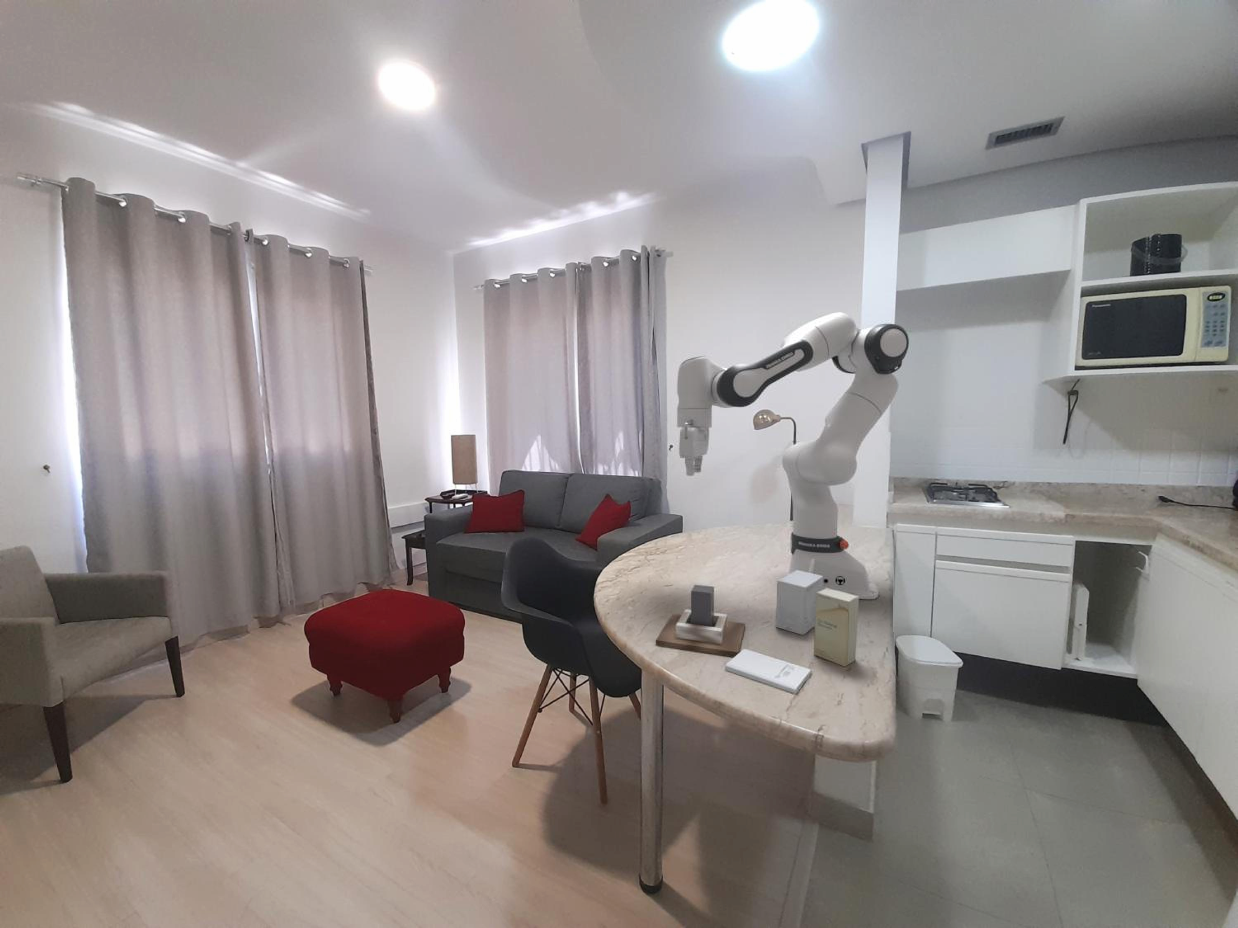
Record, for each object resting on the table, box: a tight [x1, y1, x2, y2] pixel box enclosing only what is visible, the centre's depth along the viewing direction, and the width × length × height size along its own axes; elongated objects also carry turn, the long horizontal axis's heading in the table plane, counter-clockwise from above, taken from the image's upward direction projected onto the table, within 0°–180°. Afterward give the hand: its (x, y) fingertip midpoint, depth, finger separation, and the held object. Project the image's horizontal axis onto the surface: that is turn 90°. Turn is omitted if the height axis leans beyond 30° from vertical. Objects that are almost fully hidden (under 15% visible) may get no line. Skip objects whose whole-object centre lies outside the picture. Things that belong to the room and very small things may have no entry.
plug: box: [690, 584, 715, 627], centre depth 97 cm, size 4×4×9 cm
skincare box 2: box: [813, 588, 860, 667], centre depth 88 cm, size 6×4×12 cm
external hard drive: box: [724, 648, 813, 695], centre depth 83 cm, size 2×8×12 cm
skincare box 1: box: [774, 570, 823, 636], centre depth 103 cm, size 10×6×10 cm, turn 137°
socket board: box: [655, 608, 746, 658], centre depth 97 cm, size 16×14×4 cm
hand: (694, 473), depth 123 cm, fingers open, 8 cm apart
